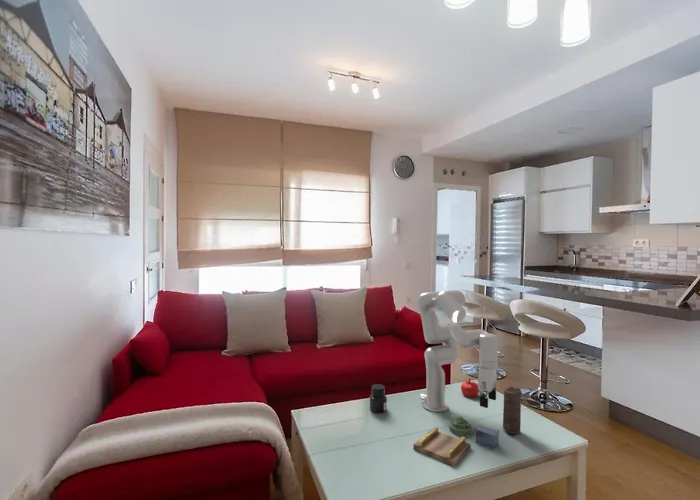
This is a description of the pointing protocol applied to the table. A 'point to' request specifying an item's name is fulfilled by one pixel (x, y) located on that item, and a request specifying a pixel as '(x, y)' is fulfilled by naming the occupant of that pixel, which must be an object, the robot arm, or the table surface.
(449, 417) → the table surface
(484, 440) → the block
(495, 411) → the table surface
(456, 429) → the decorative artifact
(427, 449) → the channel stand
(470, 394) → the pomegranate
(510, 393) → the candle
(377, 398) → the ink bottle
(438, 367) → the robot arm
